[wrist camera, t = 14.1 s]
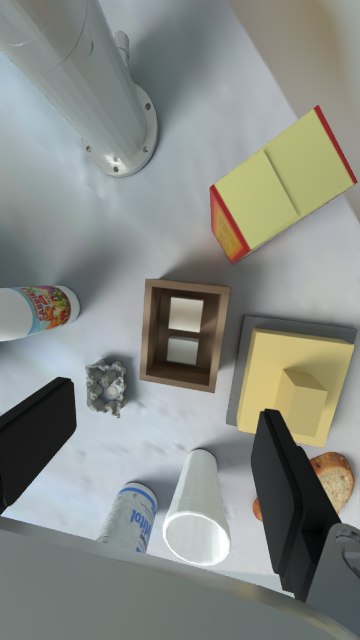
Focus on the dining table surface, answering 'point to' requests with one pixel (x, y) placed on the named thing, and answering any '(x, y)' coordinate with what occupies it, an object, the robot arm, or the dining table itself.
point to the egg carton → (106, 381)
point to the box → (183, 333)
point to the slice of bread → (329, 480)
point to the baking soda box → (278, 186)
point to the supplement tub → (130, 518)
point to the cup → (198, 513)
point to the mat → (275, 325)
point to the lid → (294, 382)
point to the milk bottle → (35, 310)
